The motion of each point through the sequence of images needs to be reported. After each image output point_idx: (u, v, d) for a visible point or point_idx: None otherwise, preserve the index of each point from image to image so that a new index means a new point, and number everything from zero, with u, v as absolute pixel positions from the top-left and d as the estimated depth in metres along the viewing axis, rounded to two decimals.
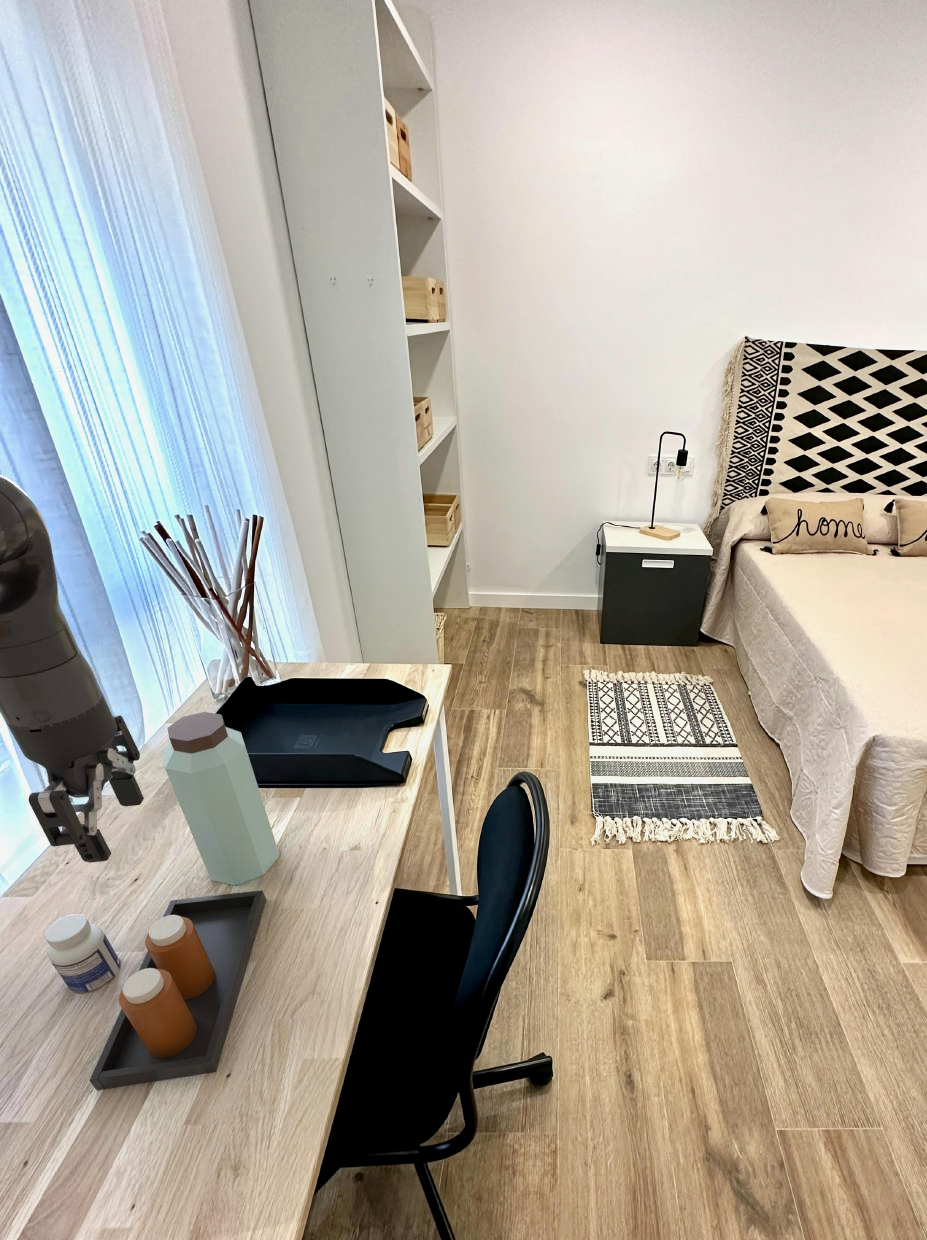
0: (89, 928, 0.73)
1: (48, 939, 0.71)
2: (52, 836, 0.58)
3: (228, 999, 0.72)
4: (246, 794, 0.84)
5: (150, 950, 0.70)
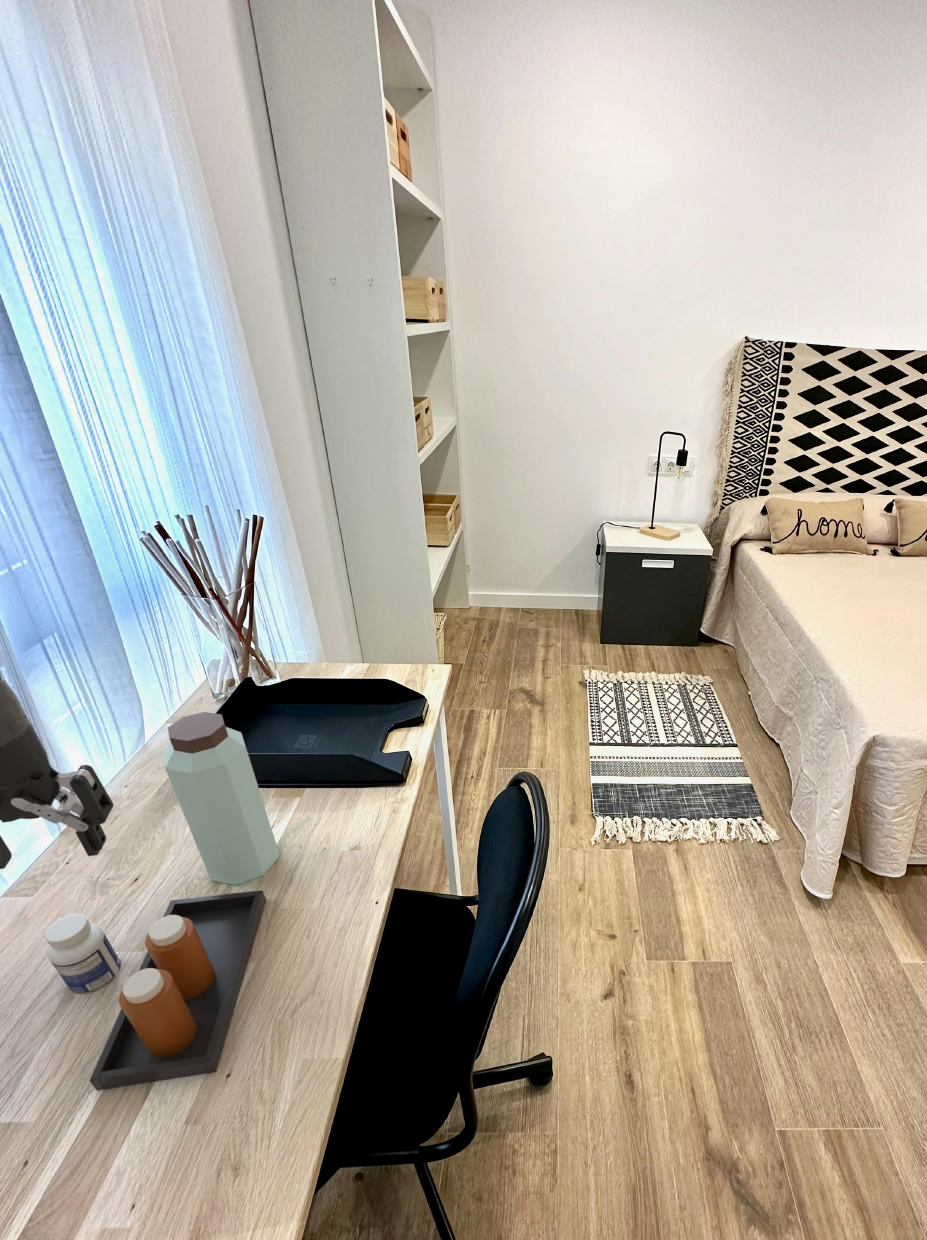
0: (89, 928, 0.73)
1: (48, 939, 0.71)
2: None
3: (228, 999, 0.72)
4: (246, 794, 0.84)
5: (150, 950, 0.70)
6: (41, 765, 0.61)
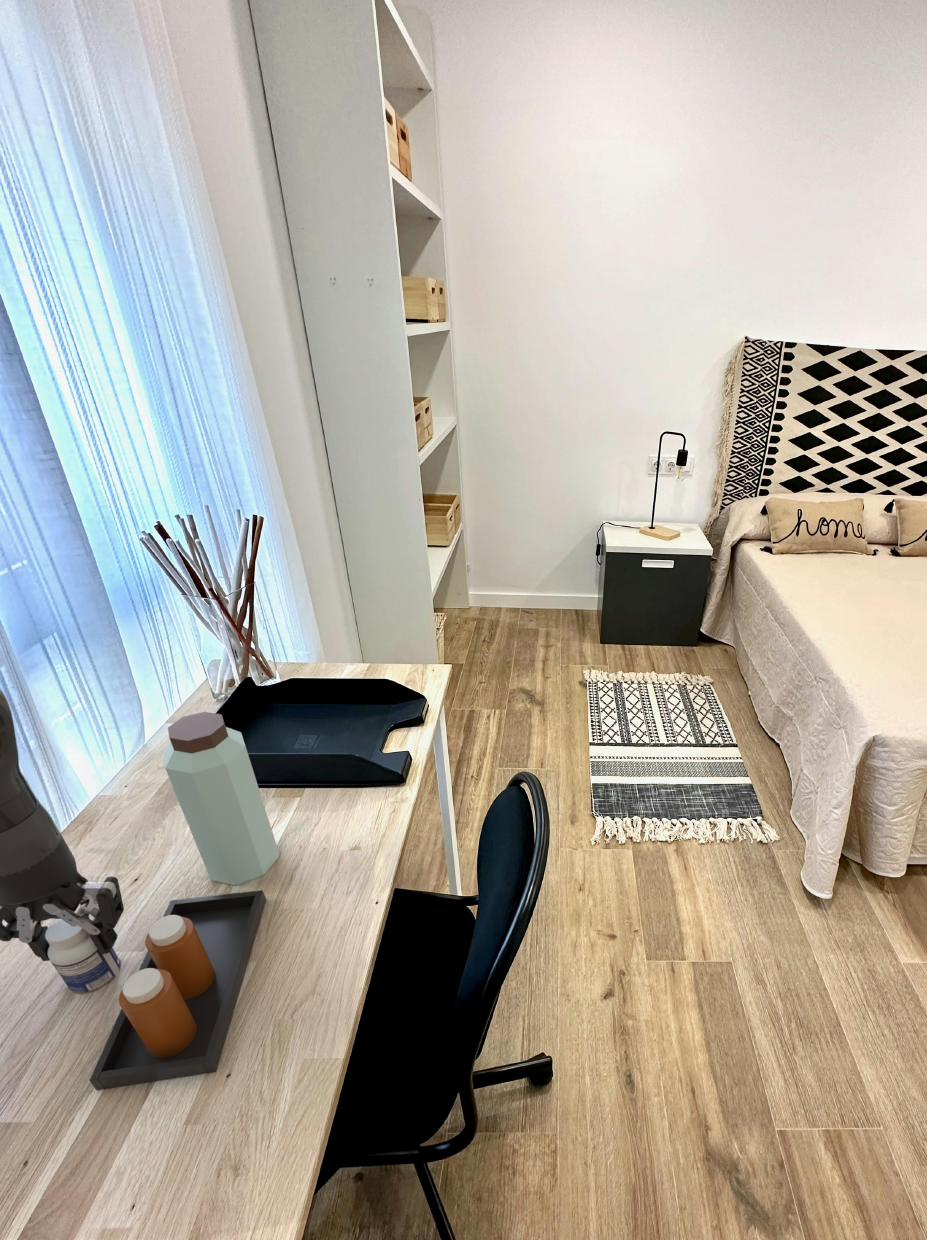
0: None
1: (48, 939, 0.71)
2: (5, 920, 0.71)
3: (228, 999, 0.72)
4: (246, 794, 0.84)
5: (150, 950, 0.70)
6: (69, 875, 0.68)
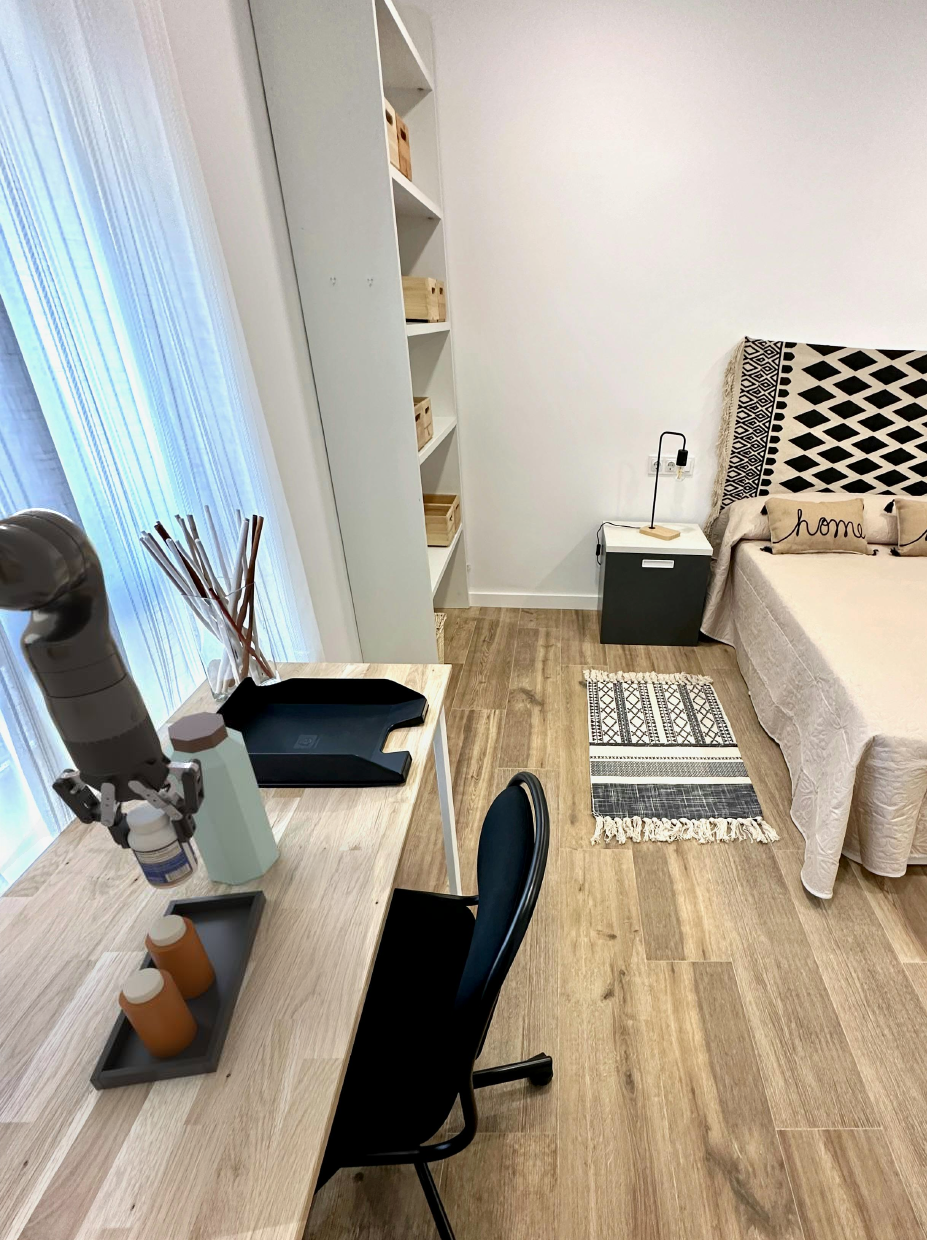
0: None
1: (130, 822, 0.69)
2: (86, 803, 0.69)
3: (228, 999, 0.72)
4: (246, 794, 0.84)
5: (150, 950, 0.70)
6: (155, 751, 0.66)
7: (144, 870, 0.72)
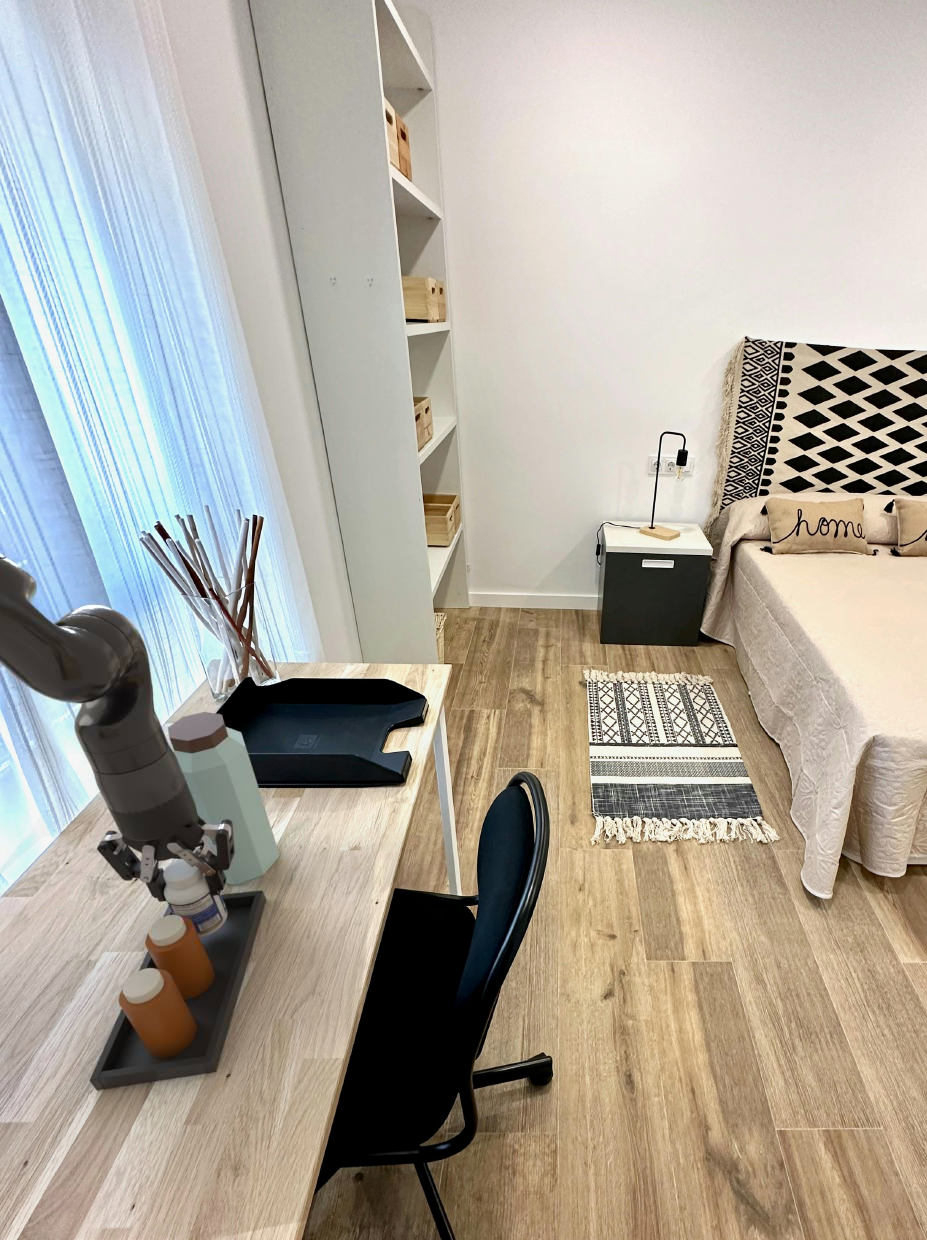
0: None
1: (167, 879, 0.74)
2: (126, 861, 0.75)
3: (228, 999, 0.72)
4: (246, 794, 0.84)
5: (150, 950, 0.70)
6: (192, 815, 0.71)
7: None
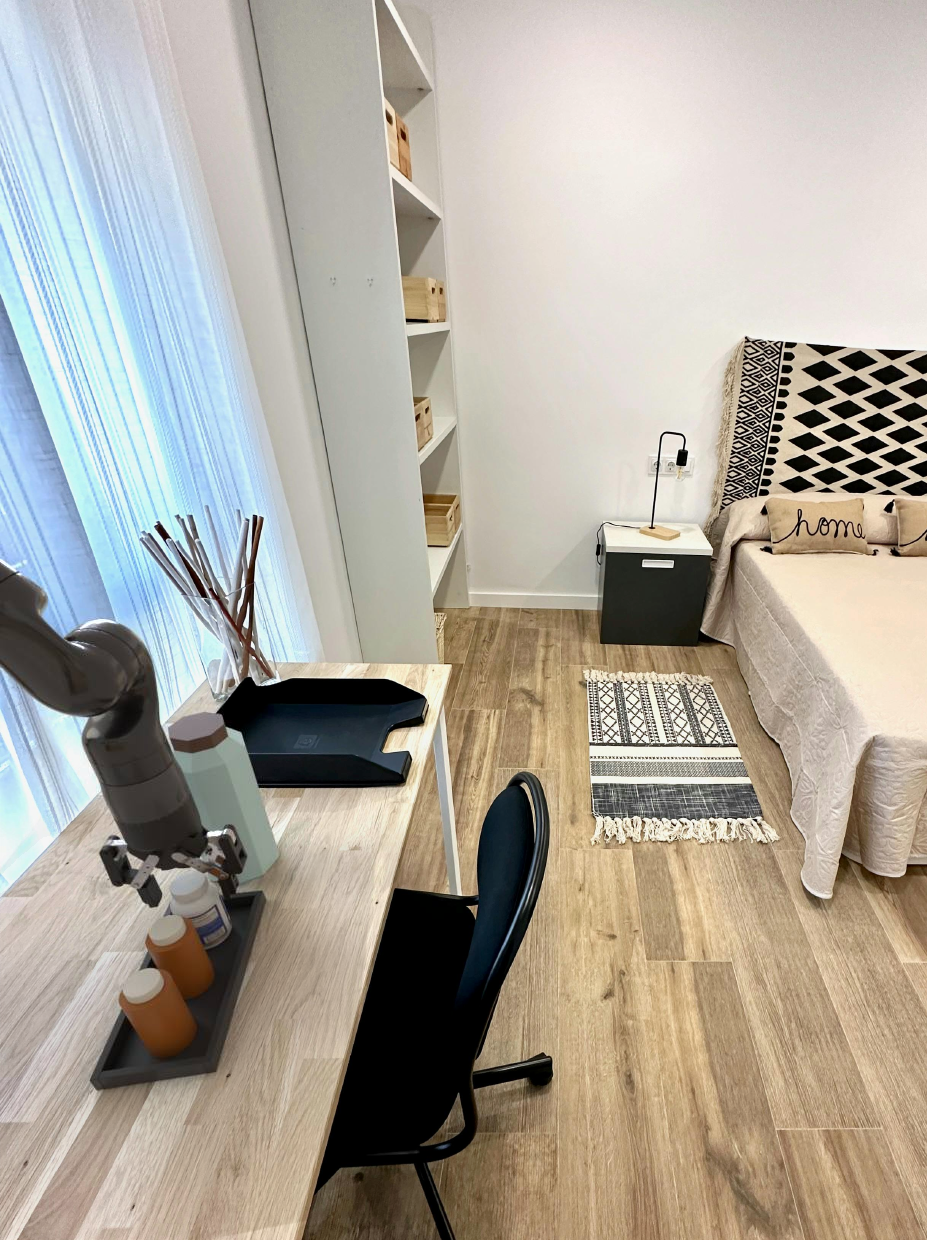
0: (208, 884, 0.78)
1: (173, 893, 0.76)
2: None
3: (228, 999, 0.72)
4: (246, 794, 0.84)
5: (150, 950, 0.70)
6: (196, 826, 0.72)
7: None
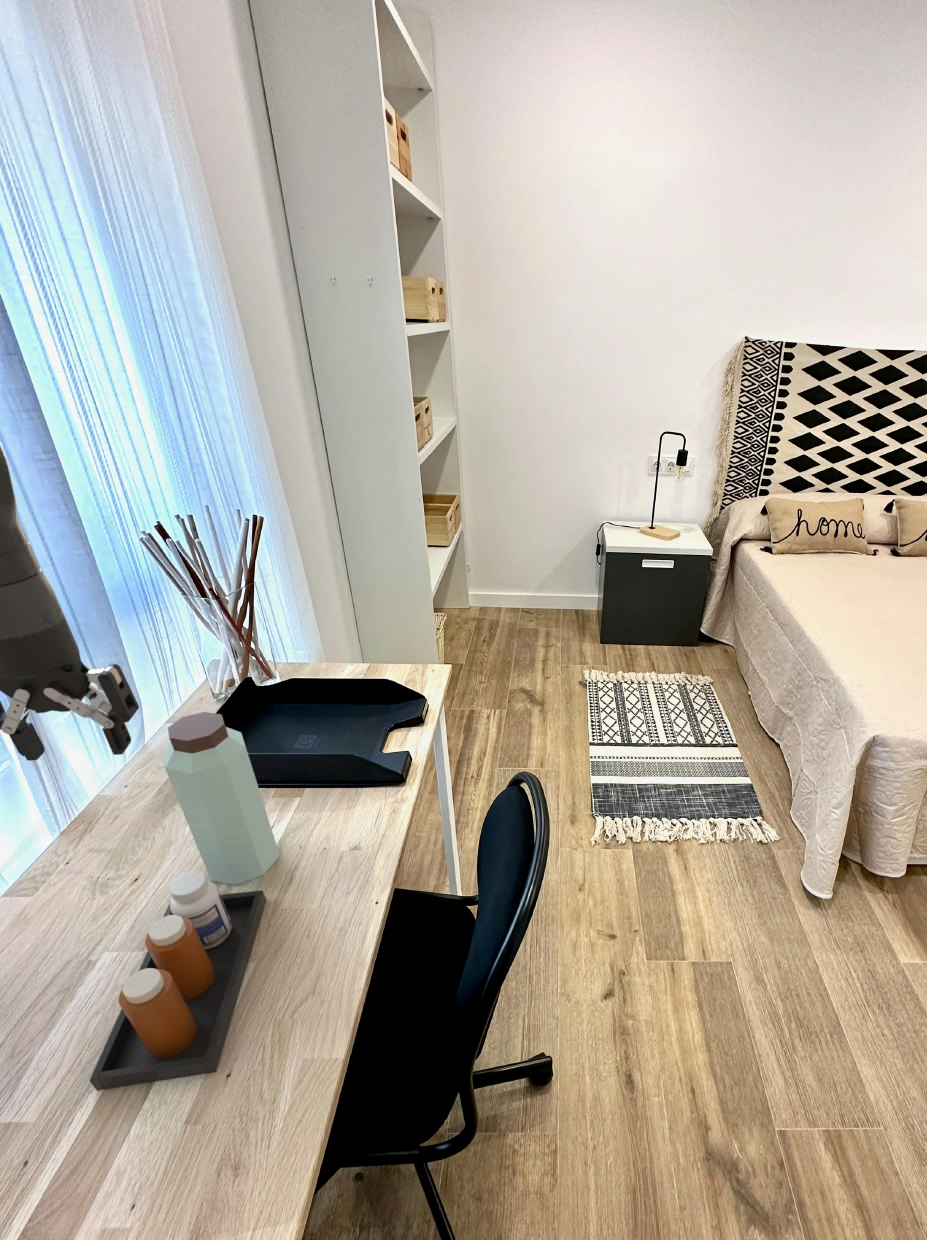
0: (208, 884, 0.78)
1: (173, 893, 0.76)
2: None
3: (228, 999, 0.72)
4: (246, 794, 0.84)
5: (150, 950, 0.70)
6: (72, 658, 0.64)
7: None
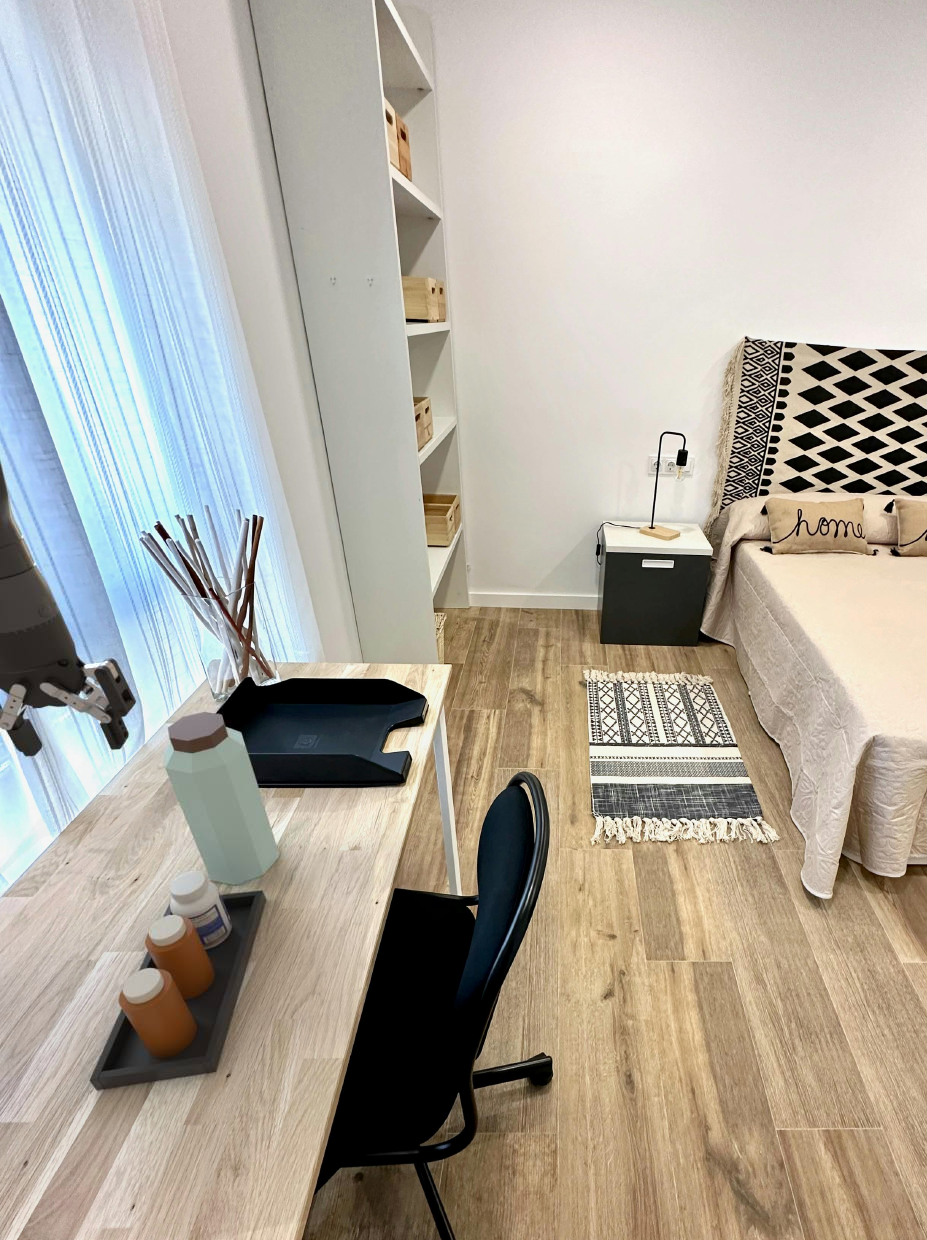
0: (207, 884, 0.78)
1: (173, 893, 0.76)
2: None
3: (228, 999, 0.72)
4: (246, 794, 0.84)
5: (150, 950, 0.70)
6: (68, 653, 0.64)
7: None
